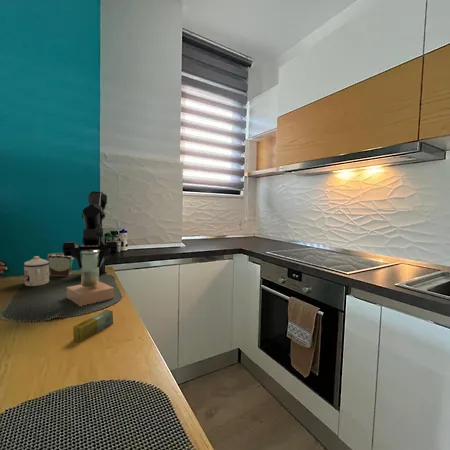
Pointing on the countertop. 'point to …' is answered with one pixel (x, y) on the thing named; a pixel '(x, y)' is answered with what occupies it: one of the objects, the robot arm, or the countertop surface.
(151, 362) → the countertop surface
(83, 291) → the terracotta base
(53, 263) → the food container
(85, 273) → the sage tin
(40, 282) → the teacup with lid
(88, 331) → the medication box
